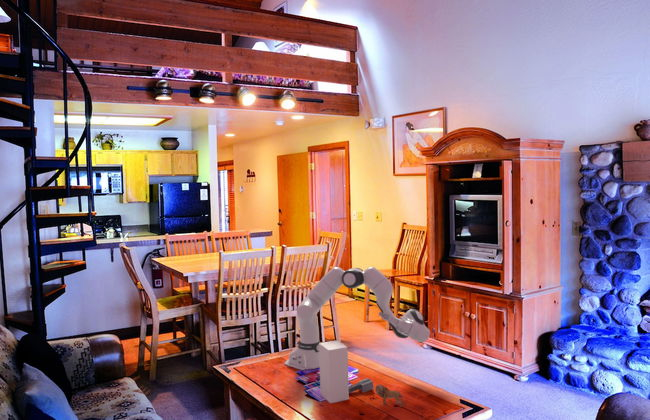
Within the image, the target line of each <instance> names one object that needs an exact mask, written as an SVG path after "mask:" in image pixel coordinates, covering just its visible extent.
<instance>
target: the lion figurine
mask: <svg viewBox="0 0 650 420" xmlns="http://www.w3.org/2000/svg"><path fill="white" fill-rule="evenodd" d="M374 390H375V393H376V395H378V396H379V397H380V398H382V399H383V401H382V402H383V403H382V405H386V404H387V399H394V398H395V400H396V401H395V404H397V405H398V404H399V405H398V407H400V408H402V407H403V405H407V403H406V402H404V400H403V396H402V394H401V393H400V391H399V390H390V389H388V387H386V386H384V385H382V384H377V385H375V388H374Z"/></svg>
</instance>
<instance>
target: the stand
mask: <svg viewBox="0 0 650 420" xmlns="http://www.w3.org/2000/svg"><path fill="white" fill-rule="evenodd" d="M348 348H349V347H348V346H347V345H346V344H343V343H342V342H340V341H339V340H338V339H337V340H330V341H326V342H325V341H324V342H320V343H319V360H320V367H319V385H320V386H319V387H320V389H319V390H320V395H321V396H322V397H323V398H324V399H325V401H327V402H328V403H329V404H333V403H338V402H343V401H347V400H349V399H350V396H349V395H350V393H349V386H350V385H349V357H348V356H349V353H348V350H349V349H348Z"/></svg>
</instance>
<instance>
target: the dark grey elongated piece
mask: <svg viewBox="0 0 650 420" xmlns="http://www.w3.org/2000/svg"><path fill="white" fill-rule="evenodd" d="M373 389H374V390H375V387H374V382H373V380H372V379H370V378H369V377H366V378H364V379H362V380H359V381H357V383H354V384H351V385H349V394H350V393H353V392H355V391H358V390H359V391H361V392H362V393H366V392H369V391H371V390H373Z"/></svg>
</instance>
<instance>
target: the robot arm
mask: <svg viewBox="0 0 650 420" xmlns="http://www.w3.org/2000/svg"><path fill="white" fill-rule="evenodd" d="M362 285H365V286H367V287H368V289H370V291H371V292H372V293H373V294H374V296H375V299H376V300H375V301H376V302H375V303H376V306H377V307H378V309H379V311H380V312H378V316H379V317H380V318H381V319H382V320H384V321H386V322H387V323H388V324H389V325H390V327H391V329H392V331H393V334H395V336H396V337H398V338H400V339H407V338H408V337H409V338H410V339H411V340H414V341H415V342H418V343H425V342H427V341H428V339H429V338H430V335H431V330H430V329H429V328H428V327H427V326H426V325H425V323H424V315H423V313H422V312H421V311H420V310H418V309H415V308H409V310H407V311H406V312H405V313H404V314H403V315H402V316H401V317H400V318H398V317H396V315H395V314H394V313H393V311H392V310H391V308H390V301H391V297H392V295H393V292H394V287H393V284H392V282H391V280H390V279H388V278H387V276H385V275H384V274H383V272H381V271H380V270H379V269H377V268H376V267H373V266H370V267H367V268H366V269H364V270H363V269H362V268H359V267H351V268H349V269H346V270H344V269H343V268H341V267H340V266H334V267H332V268H331V269H330V270H329V271H327V272H326V274H324V275H323V276H322V278H321V279H320V280H319V281H317V284H316V285H315V286H314V287H313V289H311V291H310V292H308V294H307V296H305V298H304V299H303V300H302V301H301V302H300V303H299V305H298V306H297V310H296V316H297V320H298V324H299V341H297V342H296V345H297V347H295V348H294V349H293V350H291V352H290V353H289V354H288V359H286V360H285V362H284V365H285V366H288V367H292V368H294V369H297V370H299V371H300V370H301V371H305V369H306V370H312V369H313V370H315V369H318V368H320V360H319V343H321V341H320V331H319V330H320V329H319V328H320V326H319V325H318V317H317V316H318V315H317V314H318V313H319V312H320V310H321V309H322V308H323V307H324V306H325V304H326V303H327V302H328V301H330V299H331V298H332V297H333V296H334V295H335V294H336V292H337V291H338V290H339V289H340V288H341V286H344V287H346V288H347V289H355V288H359V287H361V286H362Z"/></svg>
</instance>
